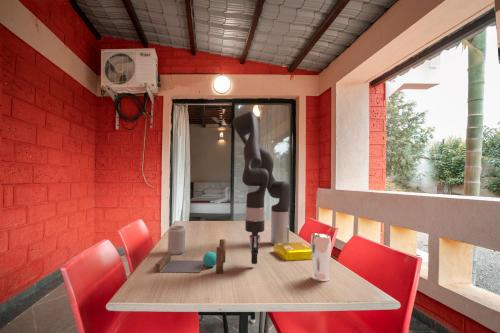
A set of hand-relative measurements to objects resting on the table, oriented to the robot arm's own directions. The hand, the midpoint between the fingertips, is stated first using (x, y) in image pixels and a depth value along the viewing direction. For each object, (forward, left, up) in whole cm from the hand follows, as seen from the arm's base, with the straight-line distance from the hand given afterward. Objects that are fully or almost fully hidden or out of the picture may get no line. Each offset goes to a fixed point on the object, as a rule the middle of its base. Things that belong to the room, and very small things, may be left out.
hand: (254, 263), depth 106 cm
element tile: (-19, -18, -2) cm, 26 cm away
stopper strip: (+35, 0, -2) cm, 35 cm away
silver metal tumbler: (-23, +11, -2) cm, 26 cm away
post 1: (+13, -6, -2) cm, 15 cm away
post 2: (+13, +6, -2) cm, 15 cm away
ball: (+17, 0, +1) cm, 17 cm away
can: (+35, -19, -2) cm, 40 cm away
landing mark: (+27, 0, -2) cm, 27 cm away
